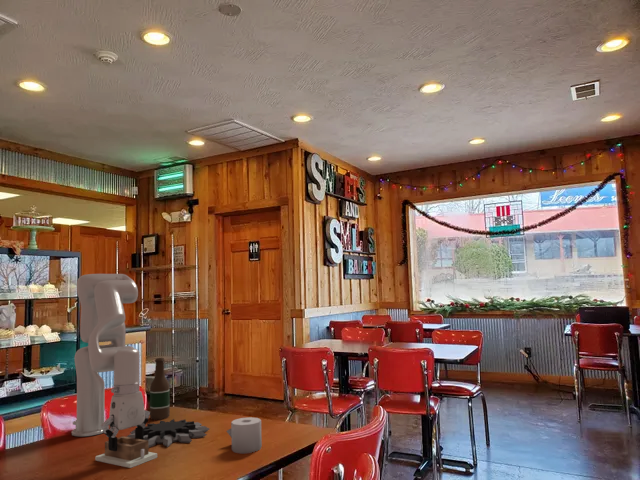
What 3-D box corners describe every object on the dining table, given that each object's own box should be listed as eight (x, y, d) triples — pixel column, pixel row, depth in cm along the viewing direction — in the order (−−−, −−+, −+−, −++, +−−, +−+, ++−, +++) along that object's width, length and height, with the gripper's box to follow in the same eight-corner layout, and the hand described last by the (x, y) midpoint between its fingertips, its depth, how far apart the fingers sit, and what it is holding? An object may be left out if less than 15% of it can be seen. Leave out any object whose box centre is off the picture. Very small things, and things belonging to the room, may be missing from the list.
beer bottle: (173, 415, 206) (173, 356, 208) (161, 420, 199) (161, 359, 201) (158, 414, 208) (157, 356, 211) (145, 419, 201) (145, 359, 204)
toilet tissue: (233, 441, 167) (233, 415, 167) (267, 446, 161) (266, 418, 162) (216, 450, 158) (216, 422, 159) (251, 454, 153) (250, 426, 153)
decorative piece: (151, 414, 194) (223, 415, 188) (151, 424, 194) (224, 426, 188) (103, 437, 165) (186, 439, 159) (103, 449, 164) (186, 452, 158)
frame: (104, 455, 153) (104, 441, 154) (122, 449, 159) (122, 436, 159) (130, 460, 147) (130, 446, 148) (148, 454, 153) (148, 440, 153)
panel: (95, 460, 153) (95, 447, 153) (122, 450, 161) (123, 439, 162) (130, 468, 145) (130, 454, 145) (157, 457, 153) (157, 445, 154)
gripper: (110, 395, 146) (110, 456, 144) (156, 384, 161) (157, 439, 159) (94, 393, 149) (93, 452, 148) (141, 383, 164) (141, 436, 163)
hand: (126, 445), depth 153 cm, fingers open, 9 cm apart
